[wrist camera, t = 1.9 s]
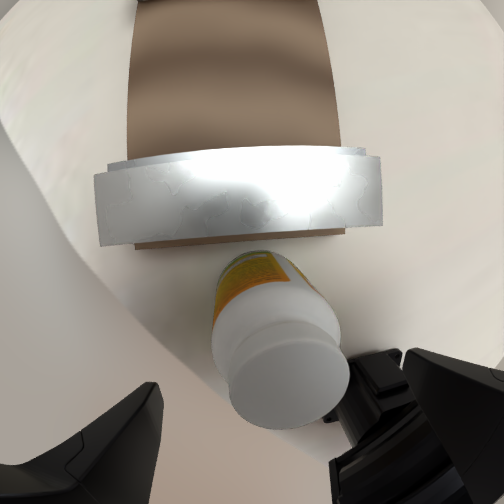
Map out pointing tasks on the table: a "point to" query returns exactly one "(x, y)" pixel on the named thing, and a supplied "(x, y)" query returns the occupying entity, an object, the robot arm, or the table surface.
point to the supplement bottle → (276, 343)
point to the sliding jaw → (237, 193)
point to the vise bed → (229, 84)
